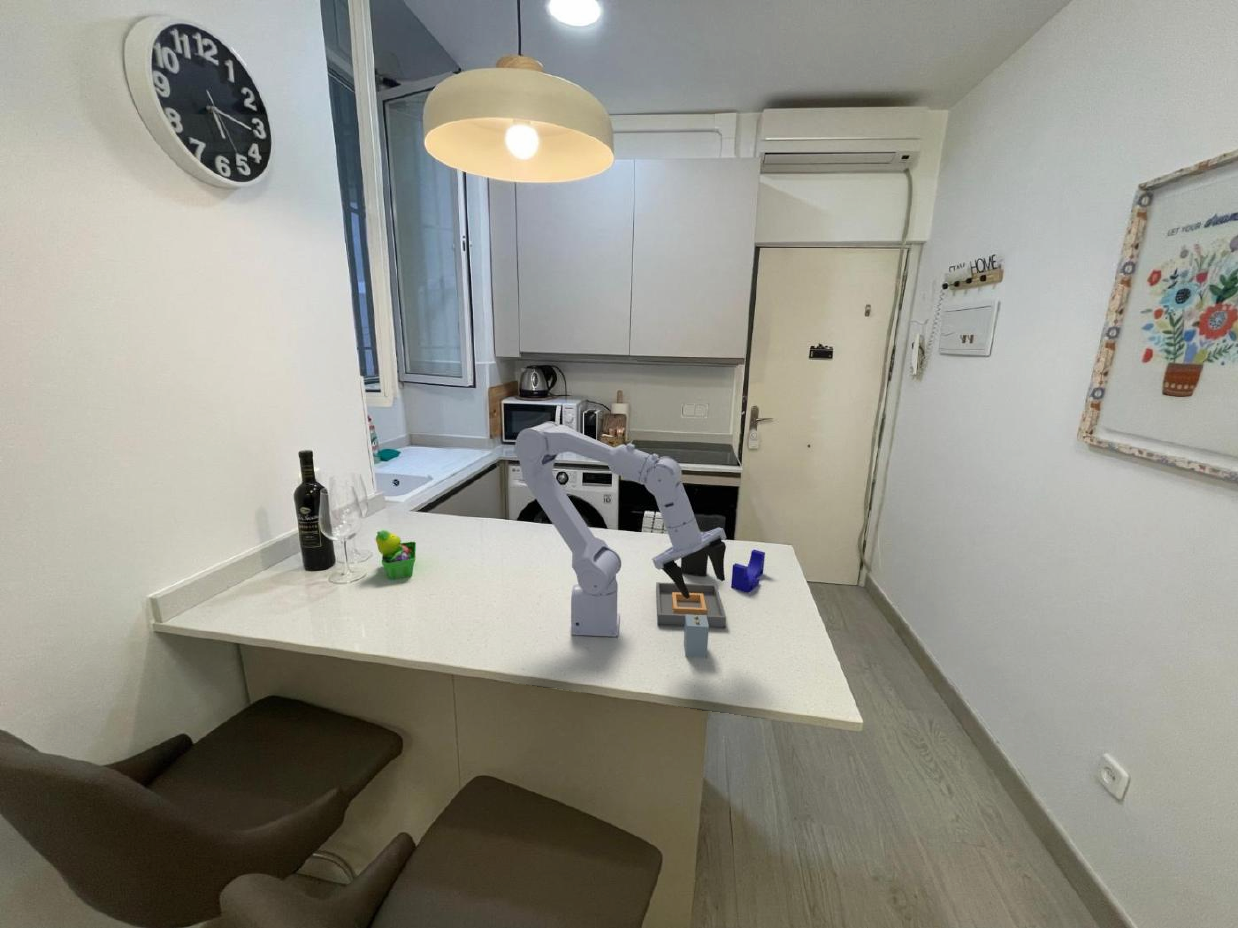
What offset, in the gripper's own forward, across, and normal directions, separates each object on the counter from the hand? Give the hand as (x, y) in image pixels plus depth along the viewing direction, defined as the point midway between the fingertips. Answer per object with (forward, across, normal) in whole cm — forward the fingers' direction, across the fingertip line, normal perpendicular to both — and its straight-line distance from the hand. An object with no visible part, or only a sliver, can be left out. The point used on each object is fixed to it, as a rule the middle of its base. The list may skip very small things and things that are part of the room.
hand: (704, 587), depth 93 cm
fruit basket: (-18, -58, +50) cm, 79 cm away
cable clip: (+15, +20, +24) cm, 34 cm away
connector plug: (+11, -5, +2) cm, 13 cm away
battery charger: (+9, +9, +31) cm, 34 cm away
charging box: (+10, 0, +16) cm, 18 cm away
